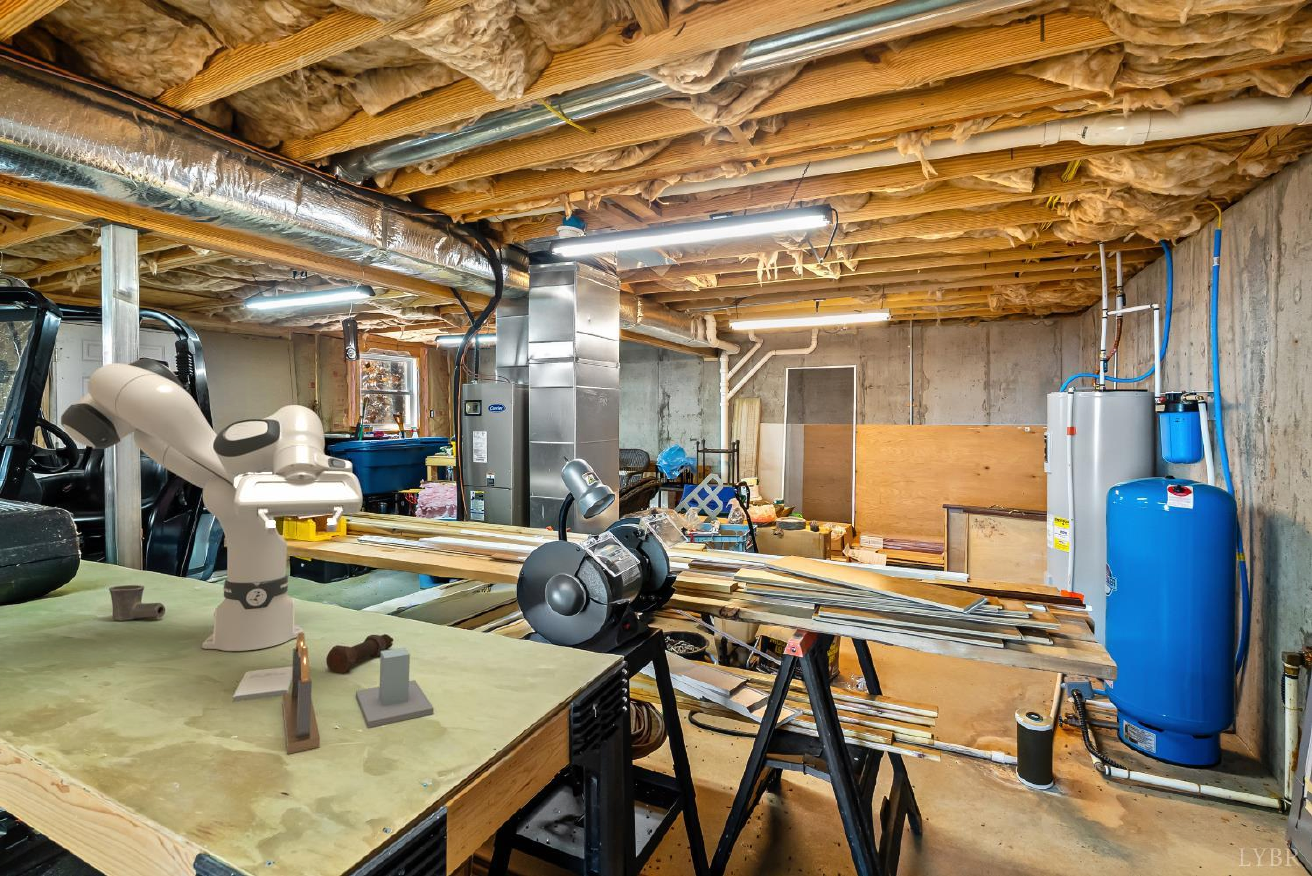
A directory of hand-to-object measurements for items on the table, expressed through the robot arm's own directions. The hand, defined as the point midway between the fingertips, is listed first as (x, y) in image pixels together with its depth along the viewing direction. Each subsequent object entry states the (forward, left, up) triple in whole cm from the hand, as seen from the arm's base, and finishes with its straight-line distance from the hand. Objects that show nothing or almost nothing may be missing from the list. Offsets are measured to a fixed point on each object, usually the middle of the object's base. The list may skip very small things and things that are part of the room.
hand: (301, 530), depth 107 cm
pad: (+11, +14, -29) cm, 34 cm away
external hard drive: (-9, -4, -30) cm, 32 cm away
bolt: (-14, +13, -30) cm, 36 cm away
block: (+11, +14, -28) cm, 34 cm away
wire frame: (+11, 0, -29) cm, 32 cm away
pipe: (-72, -31, -30) cm, 83 cm away
